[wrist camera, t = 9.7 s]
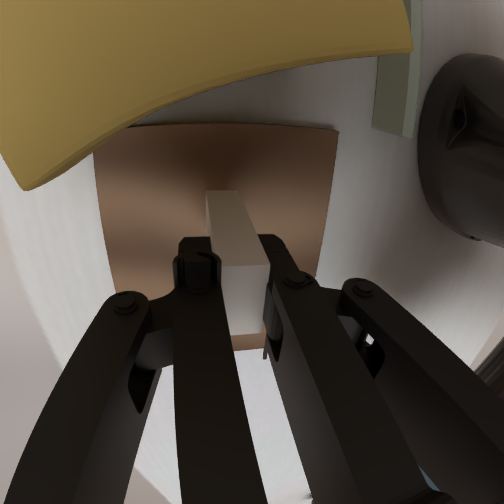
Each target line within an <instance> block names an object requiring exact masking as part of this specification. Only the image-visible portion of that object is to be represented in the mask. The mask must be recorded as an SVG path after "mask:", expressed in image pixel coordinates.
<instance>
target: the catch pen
mask: <svg viewBox="0 0 504 504" xmlns="http://www.w3.org/2000/svg"><path fill="white" fill-rule="evenodd" d="M403 3H404V6H405V9H406V13H407V17H408V21H409V26H410V31H411V36H412V40H413V45H414V51H412V52H411V53H408V54H396V55H383V56H379V59H378V73H377V84H376V95H375V104H374V113H373V121H372V127H373V128H376V129H379V130H383V131H386V132H389V133H392V134H395V135H398V136H401V137H406V138H411V139H413V132H414V126H415V118H416V111H417V102H418V93H419V82H420V70H421V52H422V0H403Z"/></svg>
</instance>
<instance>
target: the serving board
mask: <svg viewBox="0 0 504 504" xmlns="http://www.w3.org/2000/svg"><path fill="white" fill-rule="evenodd" d="M338 135H339V131H336V130H331V129H322V128H313V127H302V126H290V125H276V124H257V123H175V124H156V125H142V126H131V127H127V128H126V129H124V130H123V131H121V132H120V133H118V134H117V135H115V136H114V137H112V138H111V139H109V140H108V141H107V142H105V143H104V144H103V145H101V146H100V147H99V148H97V149H96V150H95V151H93V158H94V169H95V178H96V187H97V195H98V202H99V209H100V216H101V222H102V228H103V234H104V239H105V245H106V250H107V255H108V260H109V265H110V269H111V274H112V278H113V282H114V286H115V291H116V293H119V292H123V291H136V292H140V293H142V294H144V295H145V296H146V297H147V298H148V300H153V299H157V298H160V297H163V296H165V295H167V294H169V293H170V292H171V291H172V290H173V289H174V278H173V266H172V262H173V260H174V258H175V257H176V256H177V255H178V244H179V242H180V241H181V240H182V239H183V238H184V237H201V236H206V190H238V192H239V195H240V197H241V199H242V201H243V204H244V206H245V208H246V210H247V213H248V215H249V217H250V219H251V222H252V224H253V226H254V228H255V231H256V233H257V234H275V235H276V236H278V237H279V238H280V239H282V240H283V242H284V244H285V245H286V248H287V249H288V251H289V252H290V254H291V256H292V258H293V259H294V261H295V263H296V265H297V266H298V268H299V270H300V271H304V272H306V273H308V274H310V275H312V276H313V277H314V278H315V276H316V271H317V266H318V261H319V256H320V250H321V245H322V240H323V234H324V229H325V223H326V217H327V211H328V205H329V199H330V193H331V186H332V180H333V173H334V166H335V159H336V151H337V143H338ZM230 336H231V341H232V346H233V351H240V350H250V349H260V348H264V345H265V338H266V328H265V325H264V322H263V328H262V333H256V334H244V335H230Z"/></svg>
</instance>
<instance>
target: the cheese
mask: <svg viewBox="0 0 504 504" xmlns="http://www.w3.org/2000/svg"><path fill="white" fill-rule="evenodd" d="M412 51H414V45H413V40H412V36H411V31H410V26H409V21H408V17H407V13H406V9H405V6H404V3H403V0H0V153H1V155H2V157H3V159H4V161H5V163H6V164H7V166H8V168H9V170H10V171H11V173H12V175H13V177H14V178H15V180H16V182H17V183H18V185H19V186H20V188H21V189H22V190H23V191H29V190H33V189H35V188H37V187H39V186H41V185H43V184H45V183H47V182H49V181H51V180H53V179H54V178H56V177H58V176H60V175H61V174H63V173H65V172H66V171H67V170H69V169H70V168H72V167H73V166H74V165H76V164H77V163H79V162H80V161H81V160H83V159H84V158H85V157H87V156H88V155H89V154H91V153H92V152H93V151H95V150H96V149H97V148H99V147H100V146H101V145H103V144H104V143H105V142H107V141H108V140H109V139H111V138H112V137H114V136H115V135H117V134H118V133H120V132H121V131H123V130H124V129H126V128H127V127H129V126H130V125H132V124H134V123H135V122H137V121H139V120H140V119H142V118H144V117H146V116H148V115H150V114H151V113H153V112H155V111H157V110H159V109H162V108H164V107H166V106H168V105H170V104H173V103H175V102H178V101H180V100H183V99H186V98H188V97H191V96H194V95H196V94H199V93H202V92H205V91H208V90H211V89H214V88H217V87H220V86H223V85H226V84H230V83H233V82H236V81H240V80H243V79H247V78H251V77H254V76H258V75H262V74H266V73H270V72H274V71H278V70H283V69H288V68H293V67H298V66H304V65H310V64H316V63H323V62H329V61H335V60H342V59H350V58H360V57H370V56H383V55H396V54H408V53H411V52H412Z"/></svg>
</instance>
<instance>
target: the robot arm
mask: <svg viewBox="0 0 504 504" xmlns="http://www.w3.org/2000/svg"><path fill="white" fill-rule="evenodd" d="M418 161H419V172H420V179H421V184H422V188H423V191H424V195H425V197H426V200H427V202H428V205H429V207H430V208H431V210H432V212H433V213H434V214H435V216H436V217H437V218H438V219H439V220H440V221H441V222H443V223H444V224H445V225H447V226H448V227H449V228H451V229H452V230H454V231H455V232H456V233H458V234H459V235H461V236H463V237H465V238H468V239H472V240H476V241H481V240H483V241H486V242H489V243H491V244H494V245H497V246H500V247H503V248H504V60H502V59H500V58H497V57H494V56H489V55H479V54H463V55H460V56H457V57H455V58H453V59H452V60H450V61H449V62H448V63H447V64H446V65H445V66H444V67H443V68H442V69H441V70H440V72H439V73H438V75H437V76H436V78H435V79H434V81H433V83H432V85H431V87H430V90H429V92H428V95H427V98H426V101H425V104H424V108H423V112H422V117H421V123H420V130H419V141H418ZM172 266H173V278H174V289H173V290H172V291H171V292H170V293H169V294H167V295H165V296H163V297H160V298H157V299H153V300H148V298H147V297H146V296H145V295H144V294H142V293H140V292H136V291H123V292H119V293H116V294H114V295H112V296H110V297H109V298H108V299H107V300H106V301H105V302H104V304H103V305H102V307H101V308H100V310H99V312H98V313H97V315H96V316H95V318H94V319H93V321H92V323H91V324H90V326H89V327H88V329H87V331H86V332H85V334H84V336H83V337H82V339H81V341H80V342H79V344H78V346H77V347H76V349H75V351H74V353H73V354H72V356H71V358H70V359H69V361H68V363H67V365H66V367H65V368H64V370H63V372H62V374H61V376H60V377H59V379H58V381H57V383H56V385H55V387H54V389H53V390H52V392H51V394H50V396H49V398H48V401H47V402H46V404H45V406H44V408H43V410H42V412H41V414H40V416H39V418H38V420H37V422H36V425H35V427H34V429H33V431H32V433H31V435H30V438H29V440H28V442H27V444H26V447H25V449H24V451H23V454H22V456H21V458H20V461H19V463H18V466H17V468H16V471H15V473H14V476H13V479H12V482H11V484H10V487H9V489H8V492H7V495H6V498H5V501H4V504H123V503H124V499H125V495H126V491H127V488H128V483H129V480H130V476H131V472H132V469H133V465H134V461H135V458H136V454H137V451H138V447H139V444H140V440H141V437H142V433H143V430H144V427H145V423H146V420H147V417H148V413H149V410H150V407H151V404H152V400H153V397H154V394H155V391H156V388H157V384H158V381H159V378H160V375H161V372H162V368H163V367H166V366H169V365H173V374H174V408H175V428H176V444H177V457H178V469H179V479H180V489H181V498H182V504H268V502H267V498H266V494H265V490H264V486H263V482H262V478H261V474H260V470H259V466H258V462H257V458H256V454H255V449H254V445H253V441H252V436H251V432H250V427H249V423H248V418H247V414H246V409H245V405H244V400H243V395H242V391H241V386H240V381H239V376H238V371H237V366H236V361H235V356H234V351H233V346H232V341H231V336H230V335H244V334H256V333H262V328H263V322H264V325H265V328H266V338H265V345H264V351H263V359H266V358H267V353H268V355H269V358H270V362H271V365H272V368H273V371H274V375H275V378H276V381H277V385H278V388H279V391H280V395H281V398H282V401H283V404H284V408H285V411H286V414H287V418H288V421H289V424H290V427H291V430H292V434H293V437H294V440H295V443H296V447H297V450H298V453H299V456H300V459H301V462H302V466H303V469H304V472H305V475H306V478H307V481H308V485H309V488H310V491H311V494H312V497H313V500H314V503H315V504H504V337H503V338H502V339H501V341H500V342H499V343H498V344H497V345H496V347H495V348H494V349H493V350H492V352H491V353H490V354H489V355H488V356H487V357H486V358H485V360H484V361H483V362H482V363H481V364H480V365H479V366H478V367H477V369H475V371H474V372H473V371H472V370H471V369H470V368H469V367H468V366H467V365H466V364H465V363H464V362H463V361H462V360H461V359H460V358H459V357H458V356H457V355H456V354H455V353H453V352H452V351H451V350H450V349H449V348H448V347H447V346H446V345H445V344H444V343H443V342H442V341H441V340H439V339H438V338H437V337H436V336H435V335H434V334H433V333H432V332H431V331H429V330H428V329H427V328H426V327H425V326H424V325H423V324H422V323H421V322H419V321H418V320H417V319H416V318H415V317H414V316H413V315H411V314H410V313H409V312H408V311H407V310H406V309H405V308H403V307H402V306H401V305H400V304H399V303H398V302H397V301H395V300H394V299H393V298H392V297H391V296H389V295H388V294H387V293H386V292H385V291H384V290H382V289H381V288H380V287H379V286H378V285H376V284H375V283H373V282H371V281H369V280H366V279H363V278H351V279H348V280H346V281H345V282H344V284H343V286H342V290H338V289H330V288H324V287H320V286H319V284H318V282H317V281H316V279H315V278H314V277H313V276H312V275H310V274H308V273H306V272H304V271H300V270H299V268H298V266H297V265H296V263H295V261H294V259H293V258H292V256H291V254H290V252H289V251H288V249H287V248H286V245H285V244H284V242H283V240H282V239H280V238H279V237H278V236H276V235H275V234H257V233H256V231H255V228H254V226H253V224H252V222H251V219H250V217H249V215H248V213H247V210H246V208H245V206H244V204H243V201H242V199H241V197H240V195H239V192H238V190H206V236H201V237H184V238H183V239H182V240H181V241H180V242H179V244H178V255H177V256H176V257H175V258H174V260H173V262H172ZM368 334H369V335H370V336H371V337H372V338H373V339H374V341H373V344H372V345H371V344H369V343H367V342H366V341H365V340H366V338H367V336H368Z"/></svg>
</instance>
